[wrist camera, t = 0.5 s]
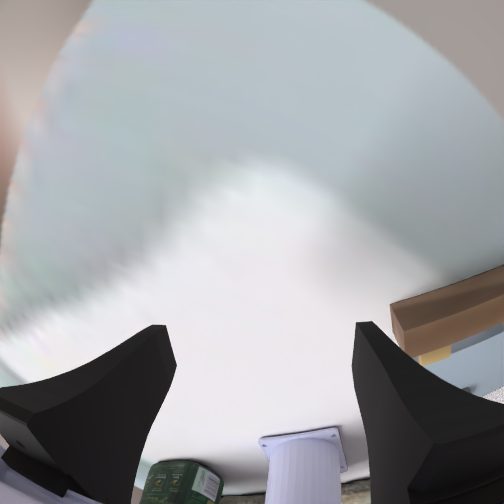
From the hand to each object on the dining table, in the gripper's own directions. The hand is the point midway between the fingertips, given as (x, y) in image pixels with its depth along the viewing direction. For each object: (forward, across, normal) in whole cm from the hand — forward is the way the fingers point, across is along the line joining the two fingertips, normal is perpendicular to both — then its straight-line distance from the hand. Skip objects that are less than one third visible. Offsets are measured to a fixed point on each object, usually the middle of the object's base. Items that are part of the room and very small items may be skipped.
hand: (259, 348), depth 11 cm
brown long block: (+10, -15, +4) cm, 18 cm away
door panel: (+10, -17, +12) cm, 23 cm away
